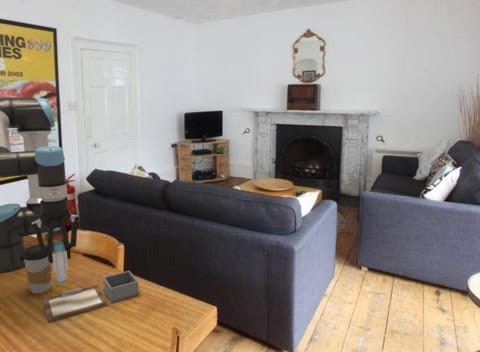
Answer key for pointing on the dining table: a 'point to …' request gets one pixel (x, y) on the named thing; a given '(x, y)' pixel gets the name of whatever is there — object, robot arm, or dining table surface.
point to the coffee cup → (37, 269)
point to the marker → (60, 262)
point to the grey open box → (120, 286)
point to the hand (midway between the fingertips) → (60, 270)
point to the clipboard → (73, 303)
